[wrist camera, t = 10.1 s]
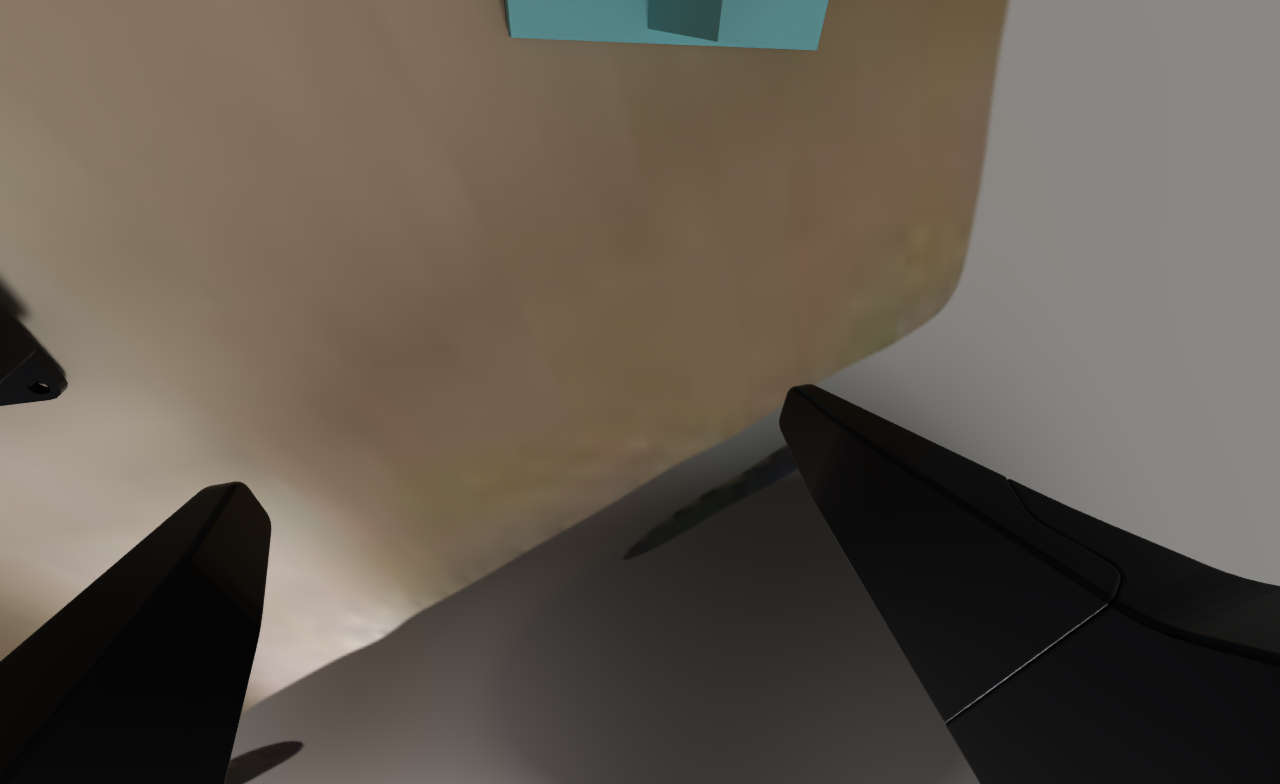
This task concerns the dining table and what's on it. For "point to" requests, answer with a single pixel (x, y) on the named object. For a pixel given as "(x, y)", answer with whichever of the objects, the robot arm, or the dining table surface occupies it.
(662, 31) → the stub
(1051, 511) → the robot arm
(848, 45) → the dining table surface
